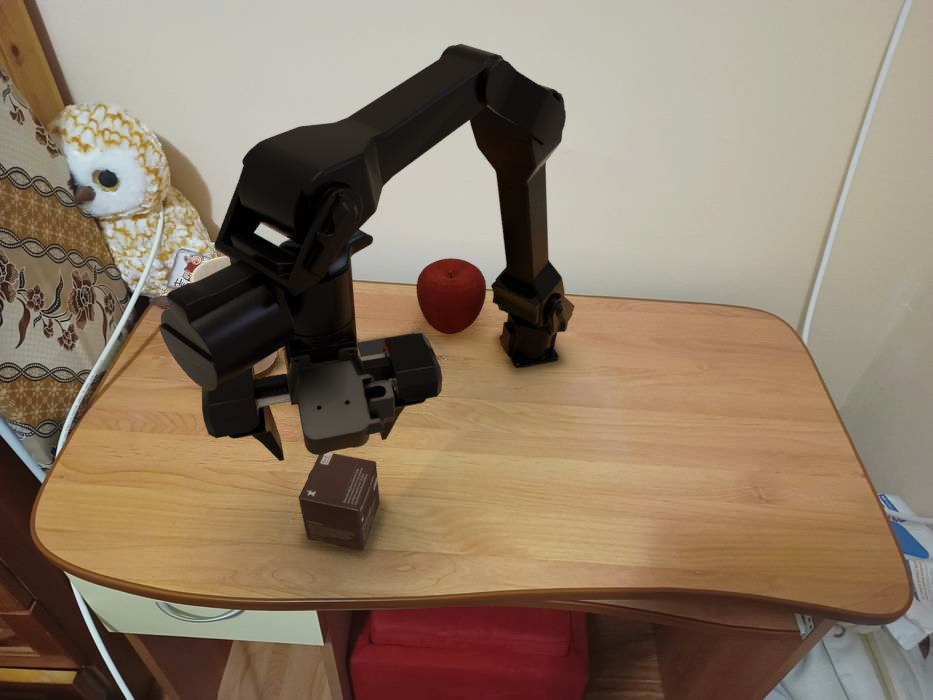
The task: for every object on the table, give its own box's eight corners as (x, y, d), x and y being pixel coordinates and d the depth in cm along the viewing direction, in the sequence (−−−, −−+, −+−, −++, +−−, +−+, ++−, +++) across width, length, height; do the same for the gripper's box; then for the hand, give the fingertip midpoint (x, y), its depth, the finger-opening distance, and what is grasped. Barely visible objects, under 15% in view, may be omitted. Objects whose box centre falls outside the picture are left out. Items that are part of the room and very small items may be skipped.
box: (362, 553, 63) (358, 511, 58) (305, 540, 63) (296, 498, 58) (380, 503, 67) (378, 460, 62) (327, 491, 68) (320, 448, 63)
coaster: (414, 334, 88) (414, 332, 88) (429, 373, 82) (429, 371, 82) (357, 344, 86) (357, 342, 85) (369, 384, 80) (369, 382, 80)
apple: (416, 303, 93) (416, 246, 86) (480, 304, 94) (485, 247, 87) (415, 345, 86) (415, 287, 79) (484, 346, 87) (490, 288, 80)
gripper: (181, 413, 39) (229, 548, 49) (467, 363, 44) (456, 495, 54) (183, 305, 46) (224, 441, 57) (426, 273, 51) (423, 403, 62)
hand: (333, 446), depth 57 cm, fingers open, 9 cm apart
